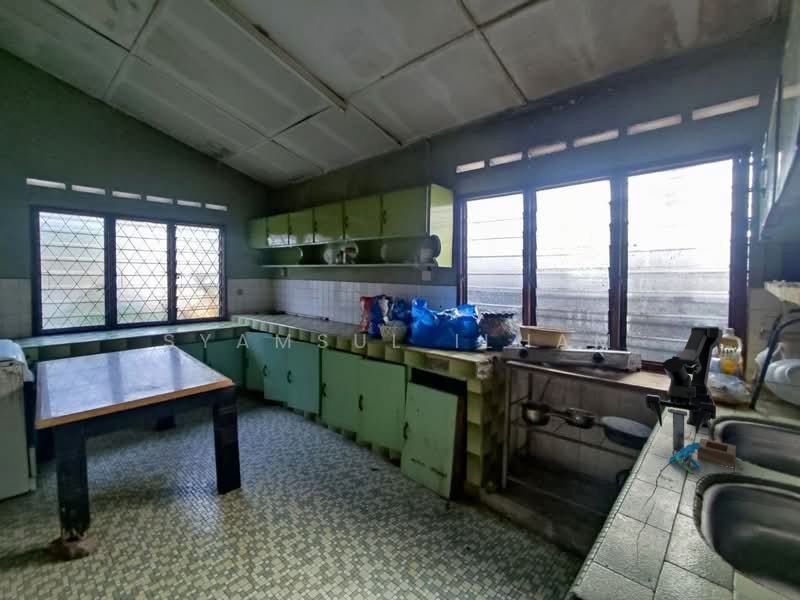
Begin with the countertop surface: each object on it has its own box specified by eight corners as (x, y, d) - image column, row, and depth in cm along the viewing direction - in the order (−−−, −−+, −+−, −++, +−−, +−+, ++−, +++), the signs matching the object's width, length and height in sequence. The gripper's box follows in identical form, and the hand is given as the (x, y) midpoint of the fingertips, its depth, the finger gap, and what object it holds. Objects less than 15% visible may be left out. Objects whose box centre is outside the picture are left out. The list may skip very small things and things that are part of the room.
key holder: (700, 449, 119) (700, 437, 118) (735, 458, 113) (735, 445, 112) (697, 459, 113) (697, 446, 112) (733, 468, 107) (734, 455, 106)
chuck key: (668, 445, 123) (668, 407, 122) (687, 449, 119) (687, 410, 118) (666, 448, 120) (666, 409, 120) (686, 453, 117) (686, 413, 116)
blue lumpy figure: (674, 449, 116) (700, 436, 110) (690, 466, 114) (719, 454, 107) (660, 464, 110) (687, 452, 104) (677, 483, 107) (706, 471, 101)
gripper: (646, 371, 128) (641, 411, 120) (716, 379, 115) (716, 424, 108) (649, 388, 134) (645, 427, 126) (715, 397, 122) (715, 440, 114)
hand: (678, 429), depth 118 cm, fingers open, 9 cm apart
